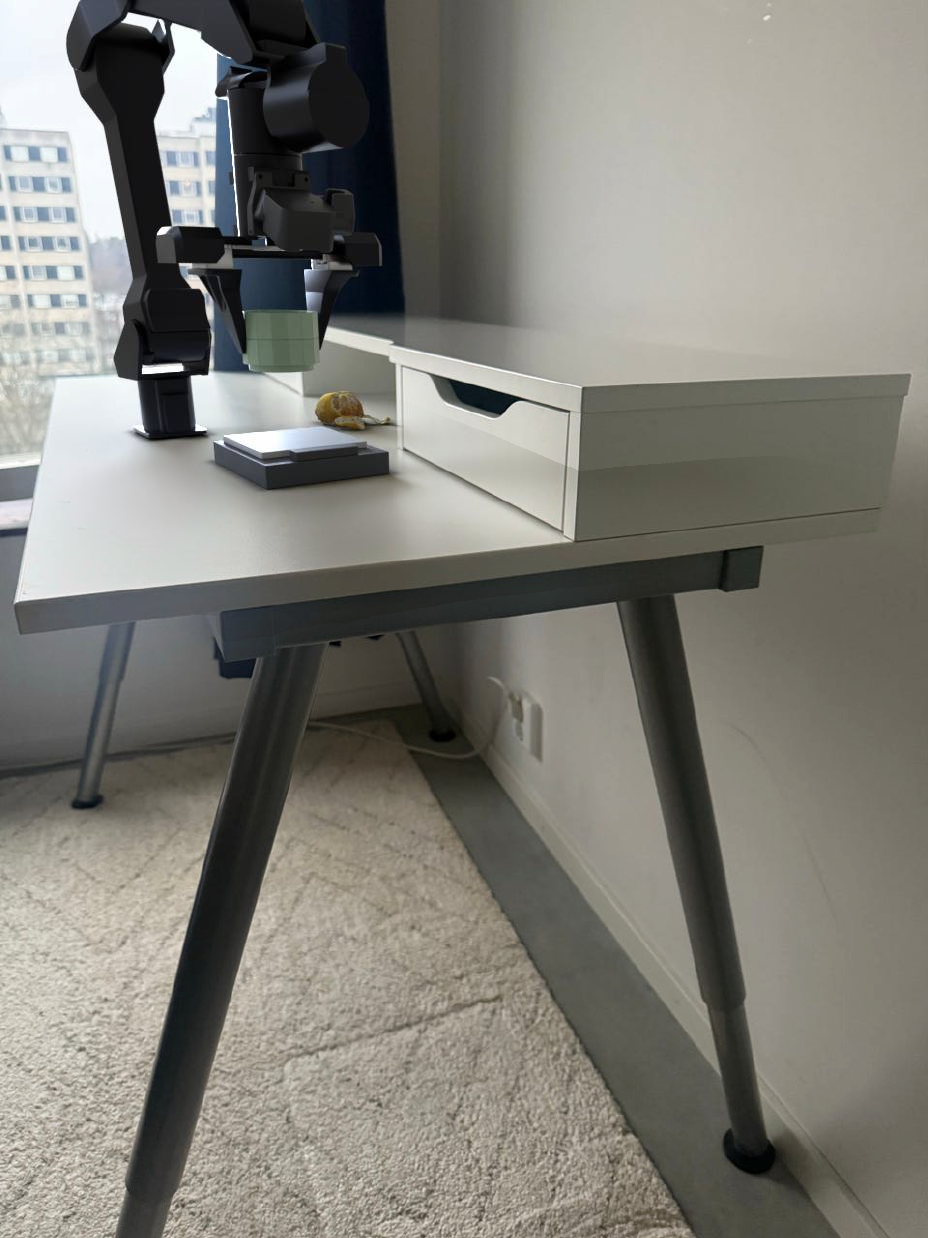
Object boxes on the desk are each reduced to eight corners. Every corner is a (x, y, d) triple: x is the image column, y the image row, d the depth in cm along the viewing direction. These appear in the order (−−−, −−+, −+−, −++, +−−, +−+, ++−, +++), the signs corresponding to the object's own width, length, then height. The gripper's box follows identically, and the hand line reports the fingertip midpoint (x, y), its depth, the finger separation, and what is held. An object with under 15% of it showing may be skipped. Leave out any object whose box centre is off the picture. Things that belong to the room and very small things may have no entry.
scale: (214, 462, 83) (211, 432, 82) (327, 449, 89) (326, 422, 88) (266, 489, 73) (264, 456, 72) (389, 473, 79) (389, 442, 78)
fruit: (350, 431, 99) (349, 399, 98) (298, 424, 103) (296, 392, 102) (395, 422, 105) (395, 391, 104) (344, 415, 110) (343, 386, 108)
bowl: (233, 367, 79) (228, 310, 77) (301, 364, 83) (298, 309, 81) (260, 374, 74) (256, 313, 72) (332, 371, 78) (329, 312, 76)
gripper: (186, 137, 61) (208, 365, 67) (412, 157, 71) (414, 355, 77) (143, 152, 70) (166, 353, 76) (350, 168, 79) (356, 345, 85)
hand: (280, 351), depth 78 cm, fingers closed on bowl, 7 cm apart
